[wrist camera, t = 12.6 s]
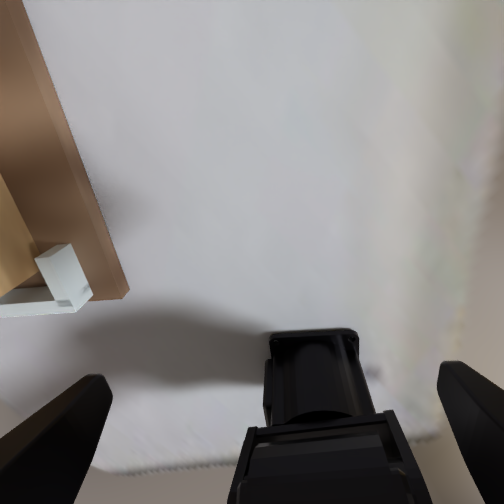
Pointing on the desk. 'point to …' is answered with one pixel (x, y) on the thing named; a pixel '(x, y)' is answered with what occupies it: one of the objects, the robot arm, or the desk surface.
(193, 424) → the desk surface
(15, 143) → the holder
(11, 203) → the tan wooden bar
